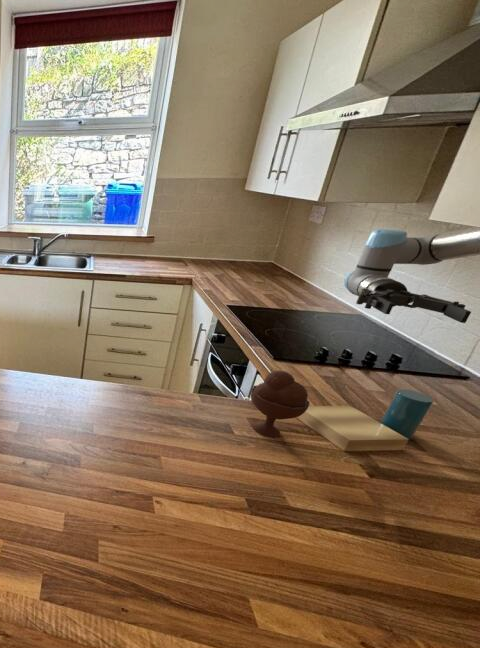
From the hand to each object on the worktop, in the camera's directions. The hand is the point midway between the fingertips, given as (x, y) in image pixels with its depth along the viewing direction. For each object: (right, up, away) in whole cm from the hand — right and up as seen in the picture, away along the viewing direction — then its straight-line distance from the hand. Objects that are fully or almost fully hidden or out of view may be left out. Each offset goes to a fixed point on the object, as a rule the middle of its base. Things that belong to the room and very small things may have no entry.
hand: (427, 313), depth 94 cm
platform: (-18, -28, +2) cm, 33 cm away
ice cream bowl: (-37, -28, +2) cm, 46 cm away
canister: (-5, -28, +3) cm, 29 cm away
